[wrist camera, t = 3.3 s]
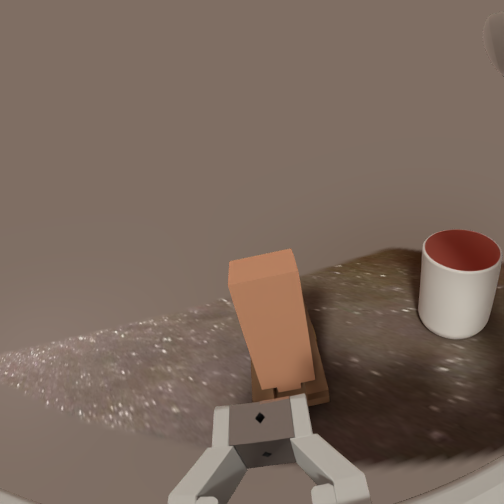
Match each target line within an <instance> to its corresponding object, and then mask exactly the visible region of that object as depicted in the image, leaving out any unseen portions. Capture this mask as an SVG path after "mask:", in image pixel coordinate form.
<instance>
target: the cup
mask: <svg viewBox="0 0 504 504" xmlns="http://www.w3.org/2000/svg"><path fill="white" fill-rule="evenodd" d="M501 263H502V250H501V248H500V247H499V245H498V244H497V243H496V242H495V241H494V240H493V239H491V238H489V237H488V236H486V235H484V234H481V233H479V232H475V231H471V230H465V229H448V230H442V231H439V232H436V233H434V234H432V235H430V236H429V237H427V239H426V240H425V241H424V243H423V246H422V265H421V281H420V293H419V304H418V312H419V316H420V319H421V320H422V322H423V324H424V325H425V326H426V327H427V328H428V329H429V330H430V331H431V332H433V333H435V334H436V335H439V336H441V337H444V338H448V339H464V338H468V337H471V336H473V335H475V334H477V333H478V332H480V331H481V330H482V329H483V328H484V327H485V325H486V324H487V322H488V320H489V316H490V313H491V309H492V305H493V301H494V296H495V292H496V288H497V283H498V278H499V273H500V268H501Z"/></svg>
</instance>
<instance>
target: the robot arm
mask: <svg viewBox="0 0 504 504" xmlns="http://www.w3.org/2000/svg"><path fill="white" fill-rule="evenodd" d="M483 43H484V47H485V51H486V53H487V55H488V58H489V59H490V61H491V63H492V65H493V66H494V67H495V69H496V70H497V71H498V72H499V73H500V74H501V75H502V76H503V77H504V12H499V13H495V14H491V15H489V17H488V18H487V20H486V22H485V24H484V28H483ZM294 462H297V464H298V465H299V466H300V467H301V468H302V469H303V470H304V471H305V473H306V474H307V475H308V476H309V477H310V478H311V479H312V480H313V481H314V482H315V483H316V484H317V485H318V486H314V487H313V488H312V490H311V495H312V504H372V502H371V498H370V494H369V489H368V486H367V481H366V477H365V474H364V473H363V472H362V471H360V470H359V469H358V468H357V467H356V466H354V465H353V464H352V463H351V462H350V461H348V460H347V459H346V458H345V457H344V456H343V455H341V454H340V453H339V452H338V451H337V450H336V449H334V448H333V447H332V446H331V445H330V444H329V443H328V442H326V441H325V440H324V439H323V438H322V437H321V436H320V435H319V434H313V432H312V427H311V421H310V416H309V410H308V405H307V399H306V395H305V393H303V394H299V395H294V396H286V397H281V398H276V399H270V400H264V401H260V402H254V403H245V404H237V405H226V406H217V407H216V408H215V410H214V421H213V437H212V447H211V448H207V449H206V451H205V452H204V453H203V454H202V456H201V457H200V458H199V459H198V461H197V462H196V463H195V464H194V466H193V467H192V468H191V469H190V471H189V472H188V473H187V474H186V475H185V477H184V478H183V479H182V480H181V481H180V483H179V484H178V485H177V486H176V487H175V488H174V490H173V491H172V492H171V493H170V494H169V498H168V504H227V502H228V501H229V499H230V498H231V496H232V494H233V493H234V491H235V490H236V488H237V486H238V485H239V483H240V481H241V480H242V478H243V476H244V475H245V473H246V471H247V469H248V468H255V467H263V466H270V465H278V464H286V463H294ZM0 504H41V503H38V502H35V501H32V500H29V499H27V498H24V497H21V496H19V495H16V494H14V493H11V492H9V491H6V490H4V489H2V488H0ZM395 504H504V455H503V456H501V457H499V458H497V459H496V460H494V461H492V462H490V463H488V464H487V465H485V466H483V467H481V468H479V469H477V470H475V471H473V472H471V473H469V474H467V475H465V476H463V477H461V478H459V479H457V480H455V481H452V482H450V483H448V484H445V485H443V486H440V487H438V488H436V489H433V490H431V491H428V492H426V493H423V494H420V495H418V496H415V497H412V498H409V499H407V500H404V501H401V502H398V503H395Z"/></svg>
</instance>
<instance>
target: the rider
mask: <svg viewBox="0 0 504 504" xmlns="http://www.w3.org/2000/svg"><path fill="white" fill-rule="evenodd" d="M228 287H229V290H230V293H231V297H232V300H233V303H234V306H235V309H236V312H237V316H238V319H239V322H240V325H241V328H242V331H243V334H244V337H245V340H246V344H247V347H248V350H249V353H250V356H251V359H252V362H253V365H254V368H255V371H256V374H257V377H258V380H259V383H260V386H261V389H262V390H264V389H270V388H276V387H277V389H278V392H284V391H289V390H295V389H300V388H301V383H302V382H307V381H312V380H315V374H314V367H313V360H312V353H311V347H310V340H309V334H308V327H307V321H306V315H305V308H304V302H303V296H302V290H301V284H300V278H299V273H298V268H297V265H296V262H295V259H294V255H293V252H292V249H291V248H290V249H286V250H281V251H277V252H272V253H267V254H262V255H257V256H253V257H248V258H243V259H238V260H233V261H230V262H229V276H228Z"/></svg>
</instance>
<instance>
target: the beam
mask: <svg viewBox="0 0 504 504" xmlns="http://www.w3.org/2000/svg"><path fill="white" fill-rule="evenodd" d="M301 290H302V289H301ZM302 296H303V292H302ZM303 302H304V308H305V315H306V321H307V327H308V334H309V340H310V347H311V353H312V360H313V367H314V374H315V380H312V381H307V382H302V383H301V388H300V389H295V390H289V391H284V392H278V389H277V387H276V388H270V389H264V390H262V389H261V386H260V383H259V380H258V377H257V374H256V371H255V368H254V365H253V362H252V359H251V376H252V402H253V403H254V402H260V401H264V400H270V399H276V398H281V397H286V396H294V395H299V394H303V393H305V395H306V399H307V405H308V406H313V405H317V404H322V403H326V402H330V399H329V389H328V385H327V381H326V377H325V374H324V370H323V366H322V362H321V358H320V354H319V351H318V345H317V338H316V334H315V331H314V327H313V325H311V321H310V317H309V314H308V310H307V307H306V303H305V299H304V296H303Z"/></svg>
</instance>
